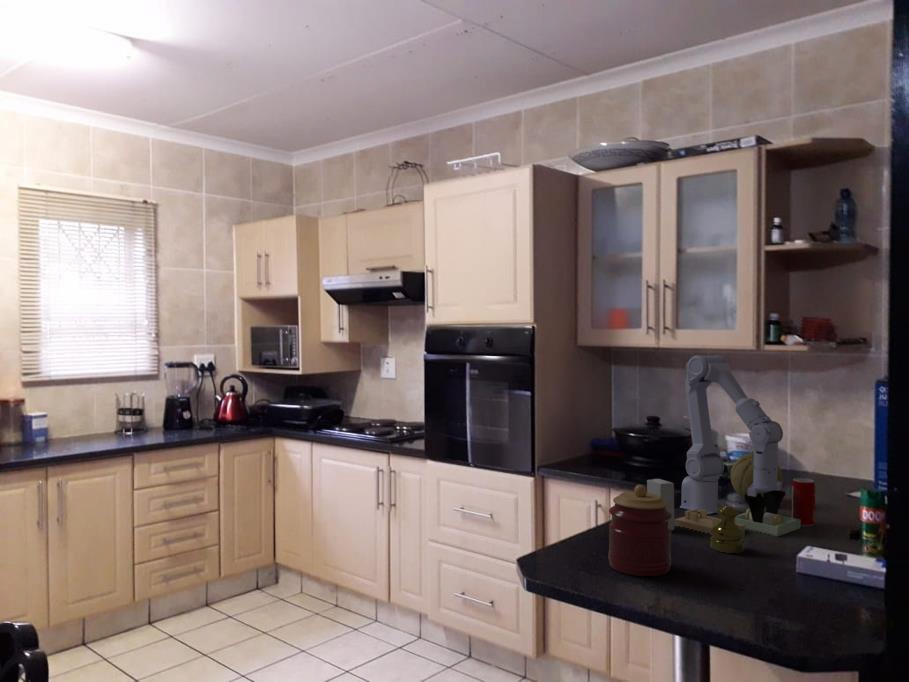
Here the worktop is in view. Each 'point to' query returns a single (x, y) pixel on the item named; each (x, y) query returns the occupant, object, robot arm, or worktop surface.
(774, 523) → the fuse
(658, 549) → the canister
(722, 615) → the worktop surface
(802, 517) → the soda can
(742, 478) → the ribbed pale melon
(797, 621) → the worktop surface
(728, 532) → the gold tiered figurine
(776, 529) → the parts tray
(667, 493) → the skincare box
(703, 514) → the fuse holder
